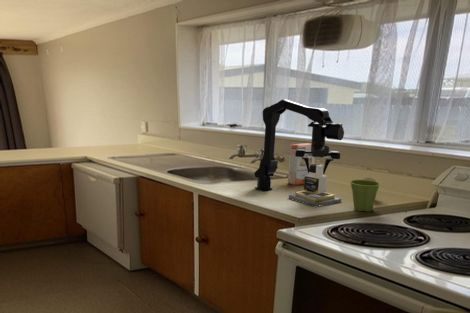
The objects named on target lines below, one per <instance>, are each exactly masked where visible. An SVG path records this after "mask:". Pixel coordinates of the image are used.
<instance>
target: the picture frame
mask: <svg viewBox="0 0 470 313" xmlns="http://www.w3.org/2000/svg"><path fill="white" fill-rule="evenodd" d="M289 198H290V200H292V199H293V200H292V201H295V200H297V201H296V202H298V201H300V202H299V203H301V202H304V203H303V204H305V203H307V204H306V205H308V204H310V205H309V206H311V205H313V206H312V207H314V206H318V207H320V206H319V205H324V206H327V205H326V204H329V205H333V203H334V204H337V203H338V204H339V203H342V198H340V197H336V195H335V194H334V193H333V194H332V193H329V192H327V191H326V192H323V193H320V194H315V193H310V192H306V191H304V190H301V191H296V192H295V193H294V194H289V195H288V199H289Z"/></svg>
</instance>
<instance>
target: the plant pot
mask: <svg viewBox="0 0 470 313" xmlns="http://www.w3.org/2000/svg"><path fill="white" fill-rule="evenodd" d="M375 181H376V180H375ZM375 181H370V180H362V179H352V180H350V181H349V183H350V187H351V193H352V201H353V208H354V209H353V210H356V211H359V212H363V211H365V212H367V213H368V212H371V211H373V209H374V205H375V202H376V197H377V194H378V191H379V188H380V186H381V185H382V184H381V183H380V181H379V182H378V181H376V182H375Z"/></svg>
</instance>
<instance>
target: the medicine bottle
mask: <svg viewBox="0 0 470 313" xmlns="http://www.w3.org/2000/svg"><path fill="white" fill-rule="evenodd" d="M323 170H324V165H323V164H320V163H319V164H318V163H314V164H311V165H310V167H309V175H305V180H304V184H303V191H306V192H310V193H315V194H320V193H323V192H326V193H327V181H328V176H327V175H325V174H323Z"/></svg>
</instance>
